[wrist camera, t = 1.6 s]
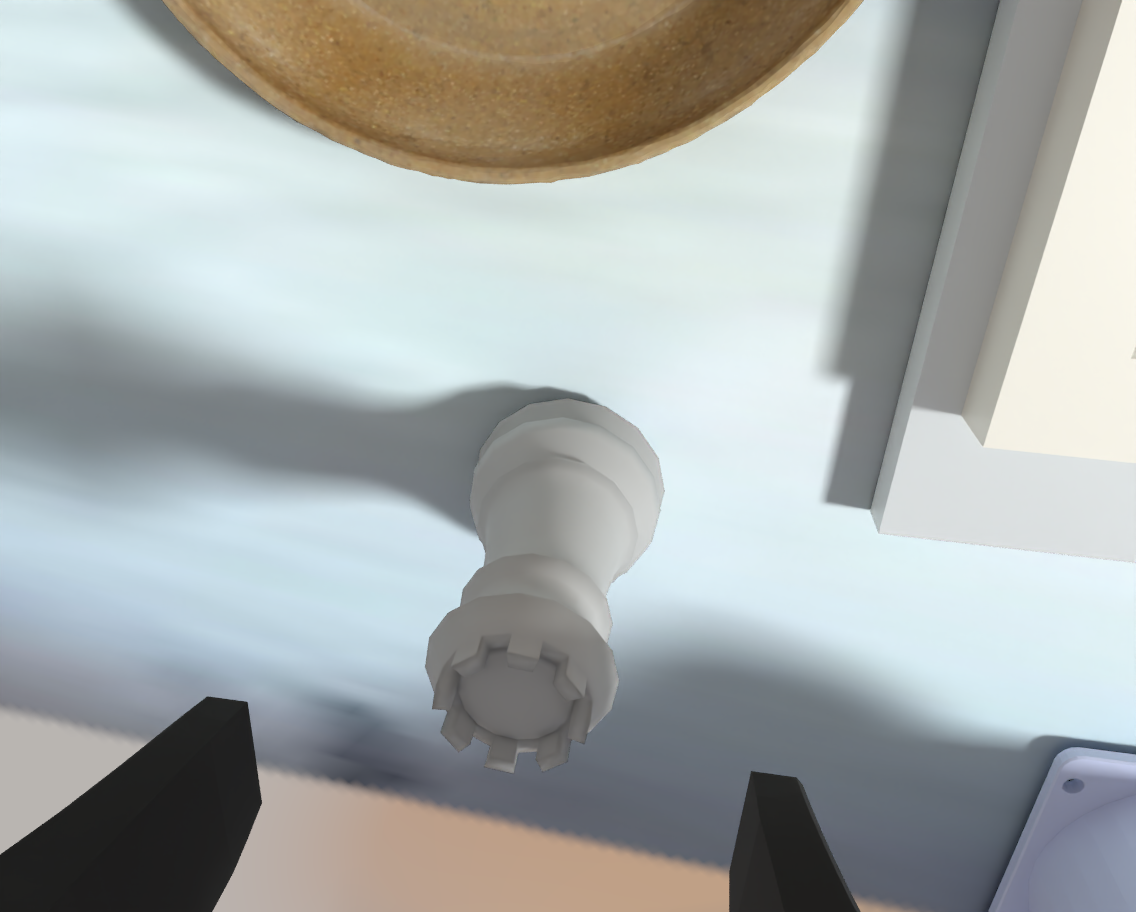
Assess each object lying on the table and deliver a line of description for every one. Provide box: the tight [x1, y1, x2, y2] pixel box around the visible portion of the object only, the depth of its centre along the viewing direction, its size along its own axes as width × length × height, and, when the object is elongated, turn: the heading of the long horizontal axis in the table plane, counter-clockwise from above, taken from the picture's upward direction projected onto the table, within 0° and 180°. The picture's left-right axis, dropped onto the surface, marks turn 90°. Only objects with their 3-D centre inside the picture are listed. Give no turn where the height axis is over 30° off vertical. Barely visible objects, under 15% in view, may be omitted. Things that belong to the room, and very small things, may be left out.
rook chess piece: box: [425, 398, 665, 774], centre depth 17 cm, size 4×4×8 cm
